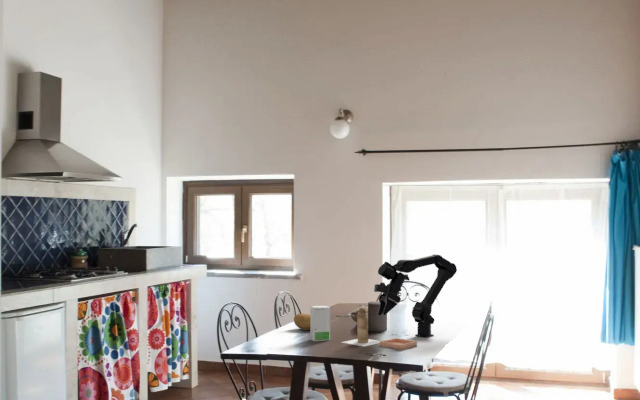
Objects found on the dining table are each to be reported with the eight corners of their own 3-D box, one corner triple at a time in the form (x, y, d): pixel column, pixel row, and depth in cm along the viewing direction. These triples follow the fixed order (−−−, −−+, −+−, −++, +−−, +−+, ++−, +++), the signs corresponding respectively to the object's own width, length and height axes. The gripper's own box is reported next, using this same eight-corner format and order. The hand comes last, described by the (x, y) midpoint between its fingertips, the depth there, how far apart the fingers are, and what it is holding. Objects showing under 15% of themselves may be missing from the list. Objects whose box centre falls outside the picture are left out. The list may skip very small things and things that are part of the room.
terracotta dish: (395, 342, 291) (395, 338, 291) (417, 346, 283) (416, 341, 283) (379, 346, 283) (379, 341, 283) (400, 350, 275) (400, 345, 275)
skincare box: (313, 342, 295) (313, 307, 296) (309, 339, 302) (309, 305, 302) (331, 340, 298) (330, 306, 298) (326, 338, 304) (326, 305, 304)
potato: (315, 332, 320) (315, 316, 320) (290, 330, 326) (290, 314, 326) (323, 329, 329) (323, 313, 329) (299, 327, 335) (299, 312, 335)
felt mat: (361, 338, 302) (361, 337, 302) (384, 342, 292) (384, 341, 292) (340, 343, 292) (340, 342, 292) (364, 347, 282) (364, 346, 282)
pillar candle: (364, 330, 323) (364, 300, 323) (372, 327, 331) (372, 298, 332) (382, 332, 318) (382, 302, 318) (390, 329, 327) (390, 299, 327)
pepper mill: (362, 340, 296) (361, 306, 296) (370, 341, 292) (369, 307, 293) (355, 342, 292) (354, 307, 293) (363, 343, 289) (362, 308, 289)
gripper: (375, 278, 310) (361, 307, 306) (385, 274, 292) (370, 306, 288) (396, 288, 310) (382, 318, 306) (407, 286, 292) (392, 317, 288)
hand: (381, 314), depth 297 cm, fingers open, 9 cm apart
